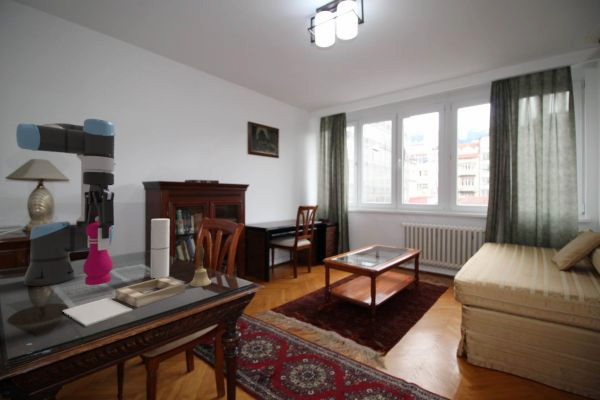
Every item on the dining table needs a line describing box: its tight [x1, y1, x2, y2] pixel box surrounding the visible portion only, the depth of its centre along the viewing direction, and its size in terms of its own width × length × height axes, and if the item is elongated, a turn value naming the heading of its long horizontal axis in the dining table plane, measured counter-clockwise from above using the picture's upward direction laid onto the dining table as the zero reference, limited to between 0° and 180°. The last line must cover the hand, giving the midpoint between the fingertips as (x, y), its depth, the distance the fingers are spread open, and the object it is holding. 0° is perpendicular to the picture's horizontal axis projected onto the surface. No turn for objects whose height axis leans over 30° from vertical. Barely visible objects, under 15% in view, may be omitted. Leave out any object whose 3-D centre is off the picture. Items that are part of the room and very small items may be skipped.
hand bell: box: [189, 243, 212, 288], centre depth 109 cm, size 8×8×16 cm
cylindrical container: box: [150, 218, 171, 279], centre depth 117 cm, size 7×7×25 cm
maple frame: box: [115, 277, 186, 308], centre depth 96 cm, size 14×17×3 cm
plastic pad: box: [62, 297, 133, 327], centre depth 82 cm, size 16×12×1 cm
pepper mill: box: [82, 217, 114, 286], centre depth 81 cm, size 7×7×20 cm
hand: (98, 248), depth 81 cm, fingers closed on pepper mill, 6 cm apart
